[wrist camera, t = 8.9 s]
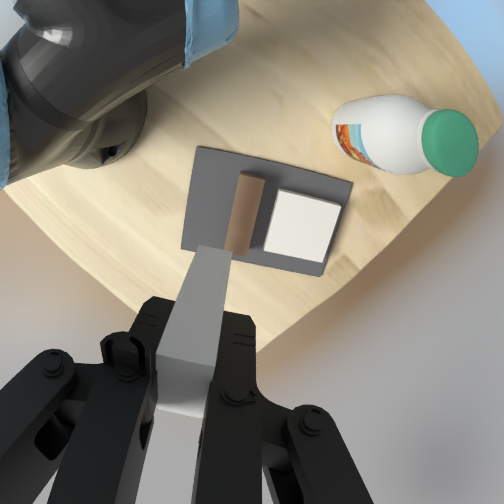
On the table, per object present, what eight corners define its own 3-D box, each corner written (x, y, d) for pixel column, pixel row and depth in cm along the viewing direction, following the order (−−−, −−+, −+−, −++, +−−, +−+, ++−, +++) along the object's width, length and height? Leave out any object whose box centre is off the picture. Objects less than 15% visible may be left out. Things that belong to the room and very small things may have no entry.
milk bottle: (325, 101, 30) (407, 79, 12) (381, 101, 29) (490, 95, 11) (332, 161, 33) (414, 205, 15) (386, 158, 33) (491, 198, 14)
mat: (181, 247, 38) (180, 249, 38) (197, 146, 32) (196, 146, 32) (319, 275, 40) (320, 277, 40) (350, 183, 34) (351, 183, 34)
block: (225, 244, 38) (223, 252, 35) (240, 171, 33) (239, 174, 31) (247, 249, 38) (246, 257, 36) (264, 176, 34) (265, 180, 32)
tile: (263, 250, 36) (322, 262, 37) (279, 190, 33) (341, 206, 34) (263, 245, 38) (319, 257, 38) (278, 187, 34) (337, 203, 35)
